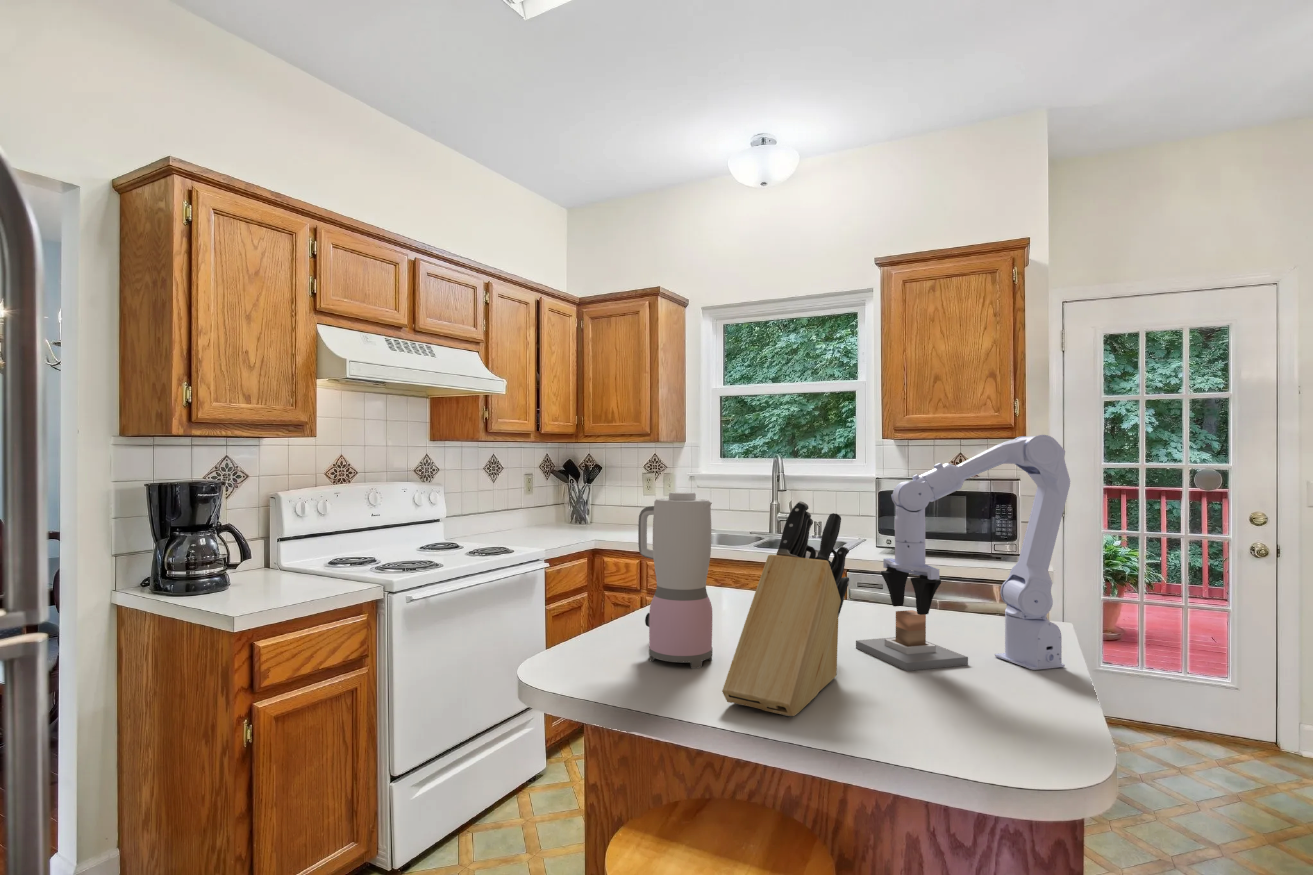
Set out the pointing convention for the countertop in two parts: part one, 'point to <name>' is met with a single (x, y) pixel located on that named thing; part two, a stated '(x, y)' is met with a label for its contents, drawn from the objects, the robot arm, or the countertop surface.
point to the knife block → (791, 622)
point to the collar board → (911, 654)
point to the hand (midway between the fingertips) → (910, 609)
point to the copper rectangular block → (910, 628)
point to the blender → (679, 578)
